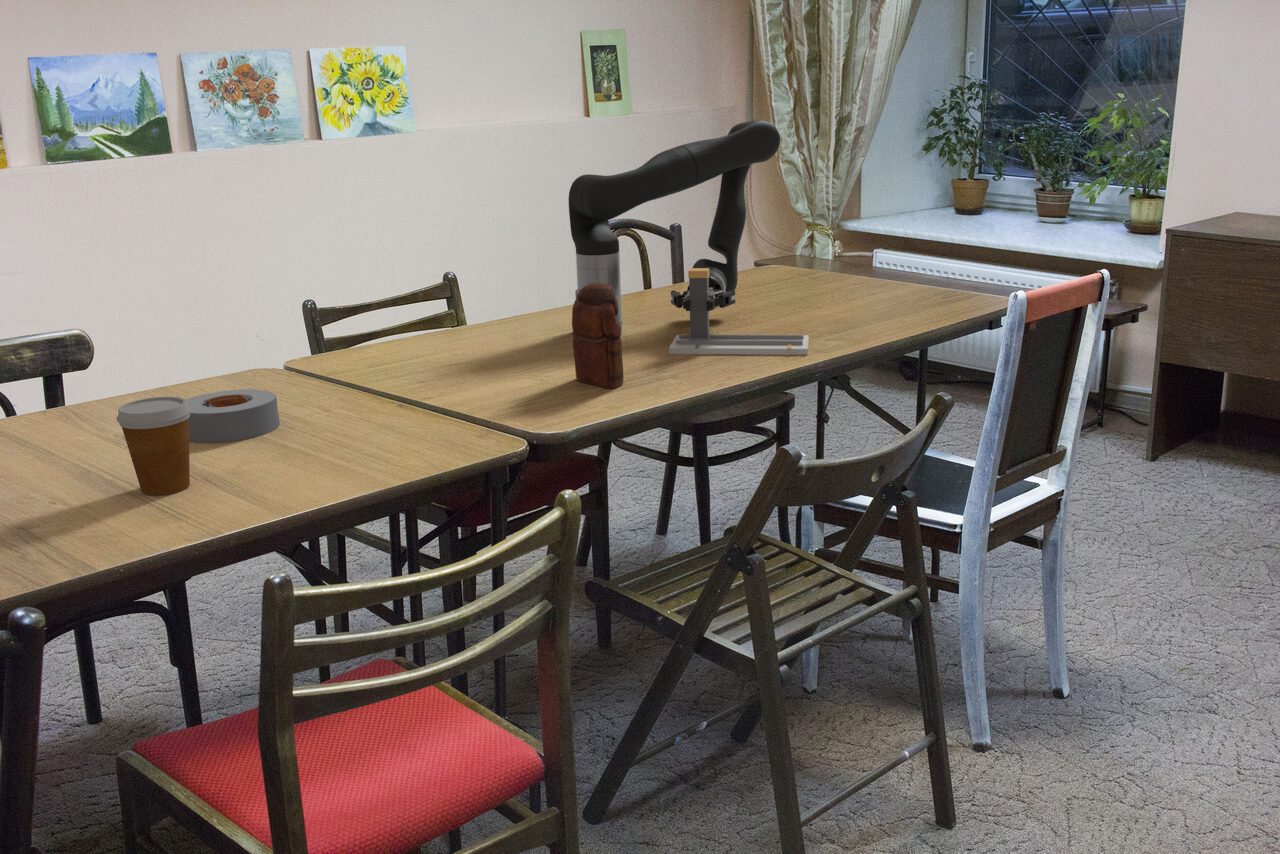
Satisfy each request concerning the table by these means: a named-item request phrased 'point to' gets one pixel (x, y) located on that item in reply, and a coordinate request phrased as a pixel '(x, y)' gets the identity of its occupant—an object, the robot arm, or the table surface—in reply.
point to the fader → (699, 303)
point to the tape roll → (232, 415)
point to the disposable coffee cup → (158, 442)
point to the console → (742, 345)
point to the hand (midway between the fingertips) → (698, 305)
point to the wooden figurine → (597, 336)
